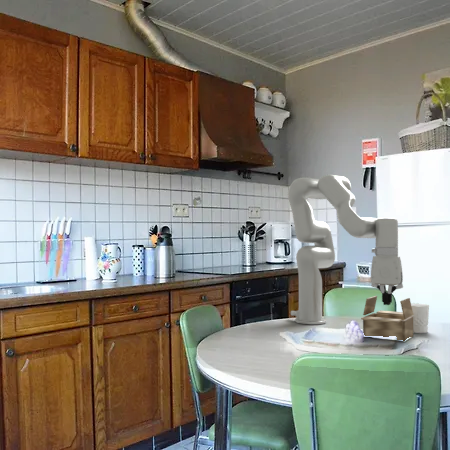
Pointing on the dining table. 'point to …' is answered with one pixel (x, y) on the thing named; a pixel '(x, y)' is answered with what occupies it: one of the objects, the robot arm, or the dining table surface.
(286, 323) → the dining table surface
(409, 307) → the flap
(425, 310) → the white cup
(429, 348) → the dining table surface
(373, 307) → the flap
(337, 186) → the robot arm
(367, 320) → the carton
